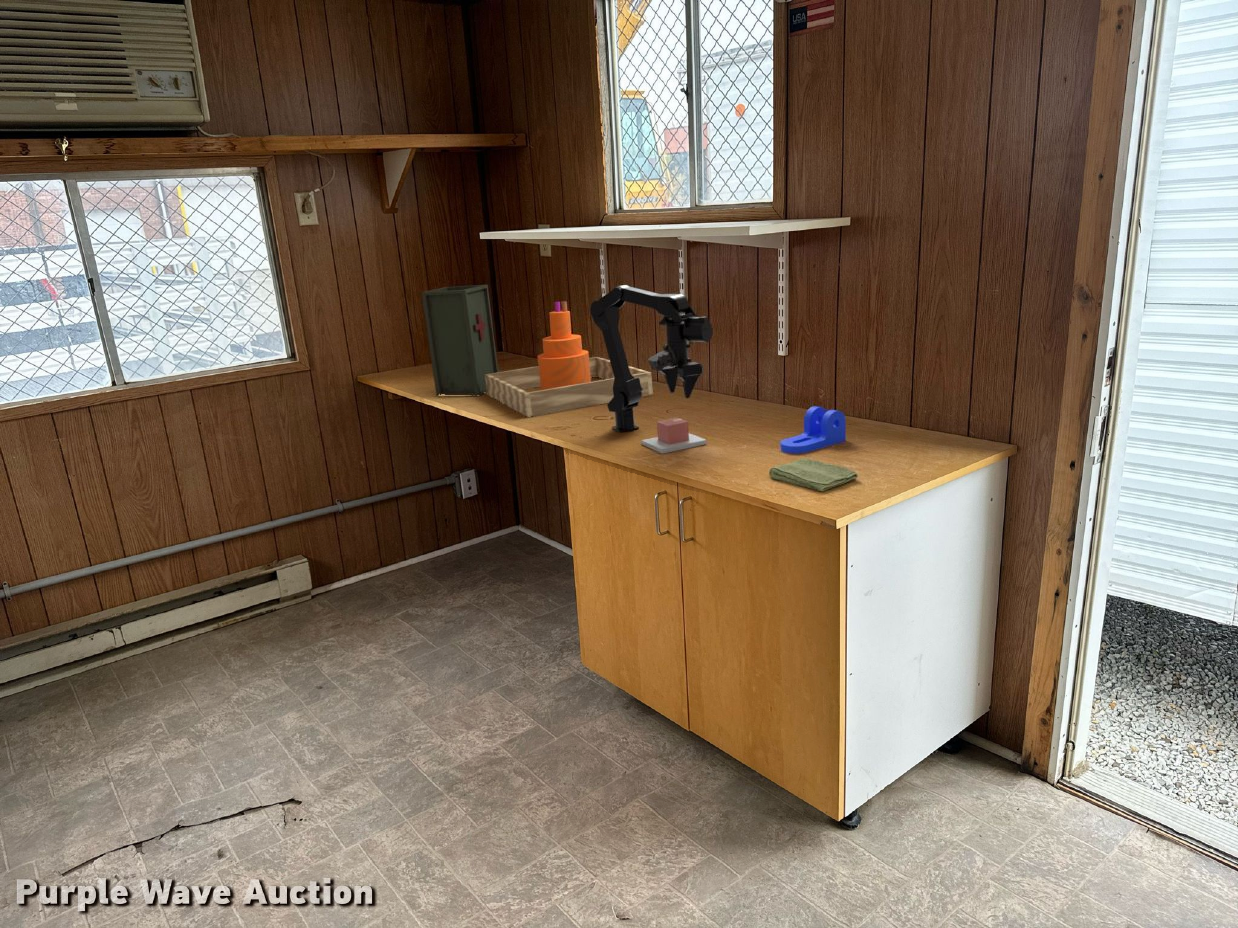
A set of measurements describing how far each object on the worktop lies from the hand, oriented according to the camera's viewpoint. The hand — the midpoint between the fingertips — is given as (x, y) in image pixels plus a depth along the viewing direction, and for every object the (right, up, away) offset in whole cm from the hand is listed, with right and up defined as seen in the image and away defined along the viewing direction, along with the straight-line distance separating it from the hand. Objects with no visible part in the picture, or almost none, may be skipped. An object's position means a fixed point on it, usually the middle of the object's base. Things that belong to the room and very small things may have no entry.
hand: (679, 395), depth 239 cm
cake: (-36, +6, +70) cm, 80 cm away
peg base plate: (-2, -14, -5) cm, 15 cm away
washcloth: (+28, -24, -42) cm, 56 cm away
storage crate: (-37, +6, +70) cm, 80 cm away
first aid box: (-77, +9, +92) cm, 120 cm away
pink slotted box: (-2, -13, -5) cm, 14 cm away
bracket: (+33, -15, -16) cm, 40 cm away
